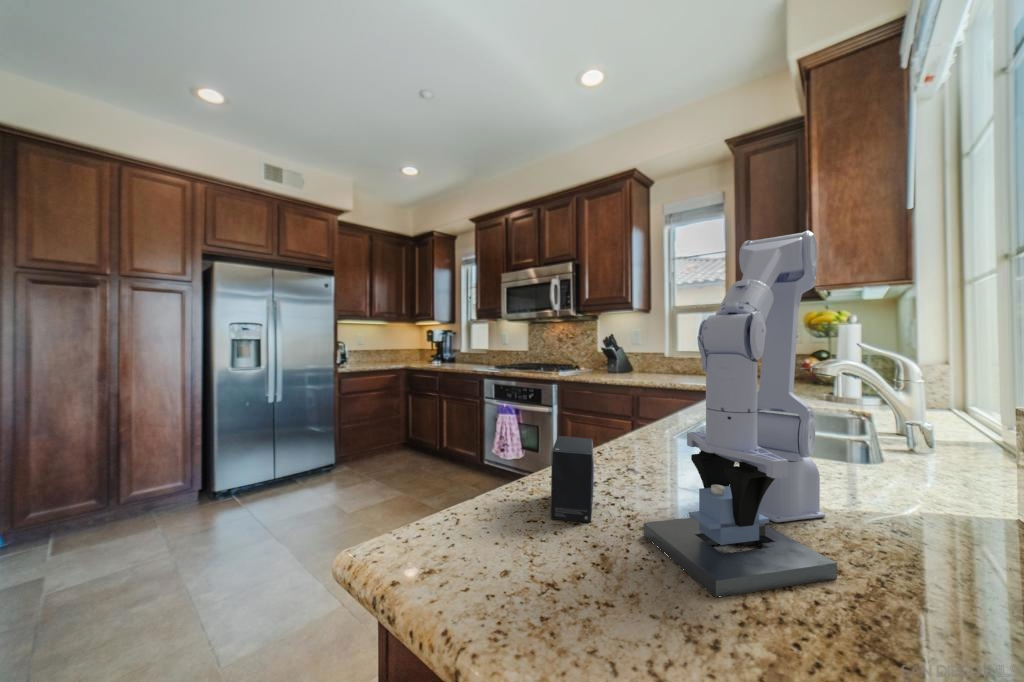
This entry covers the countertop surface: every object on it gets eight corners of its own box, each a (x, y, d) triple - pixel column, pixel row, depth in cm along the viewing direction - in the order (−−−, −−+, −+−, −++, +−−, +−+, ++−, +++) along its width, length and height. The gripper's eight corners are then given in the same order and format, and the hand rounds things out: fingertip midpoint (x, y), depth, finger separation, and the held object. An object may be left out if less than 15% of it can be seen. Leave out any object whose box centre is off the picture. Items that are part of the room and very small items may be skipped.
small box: (593, 524, 59) (593, 453, 60) (549, 520, 61) (549, 450, 61) (593, 497, 70) (593, 436, 70) (556, 494, 71) (556, 435, 71)
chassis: (741, 524, 60) (741, 512, 60) (837, 578, 46) (837, 562, 46) (643, 535, 56) (643, 522, 56) (715, 597, 42) (715, 580, 42)
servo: (746, 525, 54) (747, 478, 54) (771, 538, 50) (771, 488, 50) (688, 531, 52) (689, 483, 52) (709, 546, 48) (709, 494, 48)
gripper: (668, 401, 57) (667, 498, 57) (750, 421, 43) (749, 549, 43) (711, 400, 59) (711, 494, 59) (803, 418, 45) (803, 542, 44)
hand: (730, 517), depth 51 cm, fingers closed on servo, 4 cm apart
